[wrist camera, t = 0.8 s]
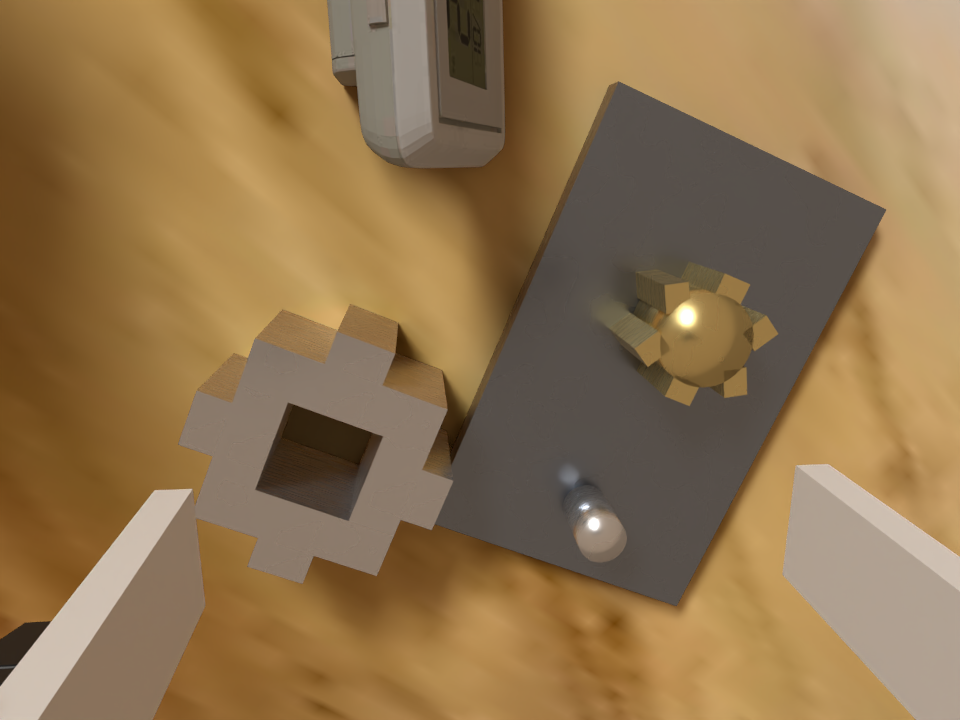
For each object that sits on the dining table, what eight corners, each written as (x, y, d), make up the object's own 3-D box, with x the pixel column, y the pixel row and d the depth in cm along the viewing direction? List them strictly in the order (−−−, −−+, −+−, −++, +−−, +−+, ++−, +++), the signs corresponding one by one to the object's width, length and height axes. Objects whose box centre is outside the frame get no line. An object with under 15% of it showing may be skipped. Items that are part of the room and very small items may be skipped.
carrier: (426, 507, 37) (428, 564, 31) (609, 85, 32) (647, 68, 27) (666, 590, 39) (706, 655, 34) (866, 207, 35) (948, 214, 30)
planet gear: (190, 475, 35) (146, 535, 29) (263, 270, 33) (231, 291, 27) (398, 544, 37) (395, 613, 31) (479, 354, 35) (492, 390, 29)
